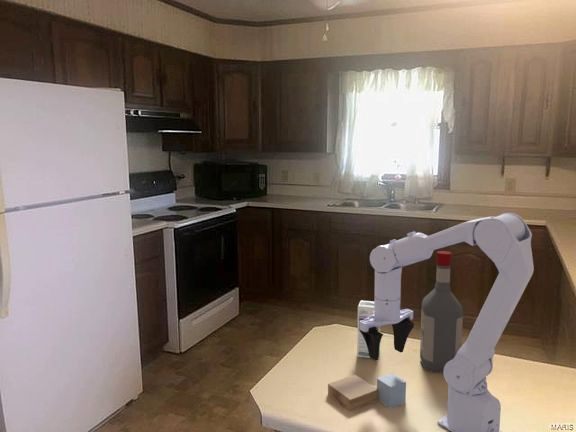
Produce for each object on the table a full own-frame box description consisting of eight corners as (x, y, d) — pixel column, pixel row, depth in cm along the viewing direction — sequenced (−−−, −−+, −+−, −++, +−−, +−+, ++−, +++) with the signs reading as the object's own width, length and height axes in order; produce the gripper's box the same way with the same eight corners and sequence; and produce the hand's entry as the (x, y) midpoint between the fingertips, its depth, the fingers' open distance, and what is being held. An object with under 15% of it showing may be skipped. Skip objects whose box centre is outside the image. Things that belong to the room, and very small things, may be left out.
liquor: (424, 372, 116) (428, 256, 112) (418, 356, 125) (422, 248, 121) (462, 374, 115) (467, 257, 111) (453, 358, 124) (458, 248, 120)
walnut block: (377, 401, 104) (378, 389, 103) (350, 412, 100) (350, 399, 99) (354, 386, 111) (355, 374, 110) (328, 396, 106) (328, 383, 106)
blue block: (405, 402, 103) (406, 381, 102) (390, 408, 101) (390, 387, 100) (391, 393, 107) (392, 373, 106) (376, 398, 104) (376, 378, 104)
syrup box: (356, 357, 125) (357, 305, 123) (359, 348, 131) (360, 298, 129) (378, 359, 123) (379, 307, 121) (380, 350, 129) (381, 300, 127)
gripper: (398, 287, 110) (397, 341, 112) (350, 298, 103) (350, 355, 105) (420, 295, 104) (419, 352, 106) (371, 306, 97) (371, 367, 99)
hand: (386, 354), depth 105 cm, fingers open, 7 cm apart
